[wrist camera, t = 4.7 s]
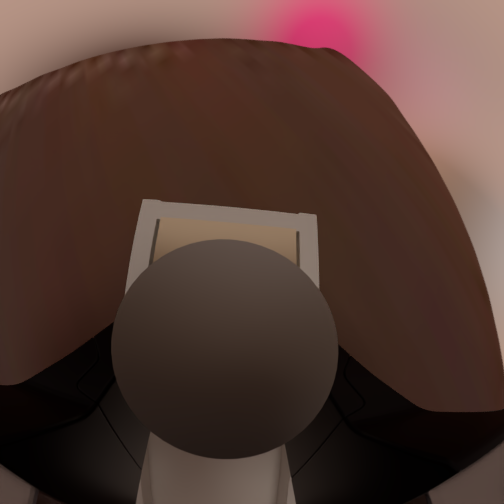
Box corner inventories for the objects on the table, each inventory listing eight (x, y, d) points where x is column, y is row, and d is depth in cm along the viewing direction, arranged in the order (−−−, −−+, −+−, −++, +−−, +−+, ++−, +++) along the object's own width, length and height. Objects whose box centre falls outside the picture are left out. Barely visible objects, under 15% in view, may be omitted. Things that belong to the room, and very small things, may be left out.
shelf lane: (290, 509, 11) (303, 533, 8) (137, 501, 10) (125, 524, 7) (304, 237, 18) (321, 215, 15) (149, 223, 17) (138, 198, 14)
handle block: (278, 374, 13) (420, 430, 3) (157, 365, 13) (20, 407, 2) (282, 249, 16) (379, 102, 5) (170, 240, 15) (114, 72, 5)
